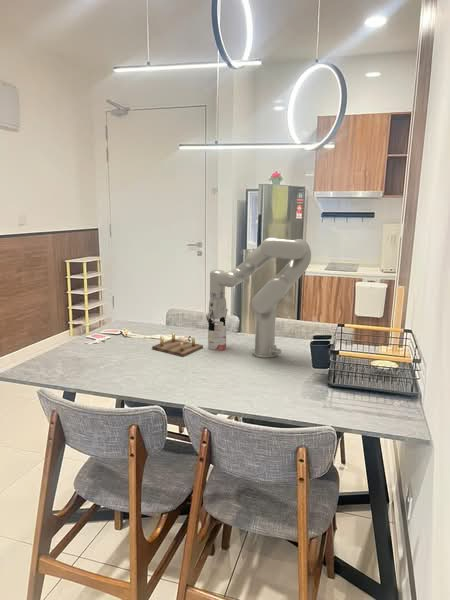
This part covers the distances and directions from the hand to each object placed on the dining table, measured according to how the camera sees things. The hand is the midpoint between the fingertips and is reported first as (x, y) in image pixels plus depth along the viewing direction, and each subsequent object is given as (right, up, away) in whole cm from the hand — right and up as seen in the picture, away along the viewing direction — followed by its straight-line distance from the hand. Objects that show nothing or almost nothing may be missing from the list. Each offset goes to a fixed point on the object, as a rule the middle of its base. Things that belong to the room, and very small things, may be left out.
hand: (217, 328), depth 214 cm
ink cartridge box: (0, -11, +2) cm, 11 cm away
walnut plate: (-20, -10, +1) cm, 22 cm away
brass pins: (-20, -9, +1) cm, 22 cm away
